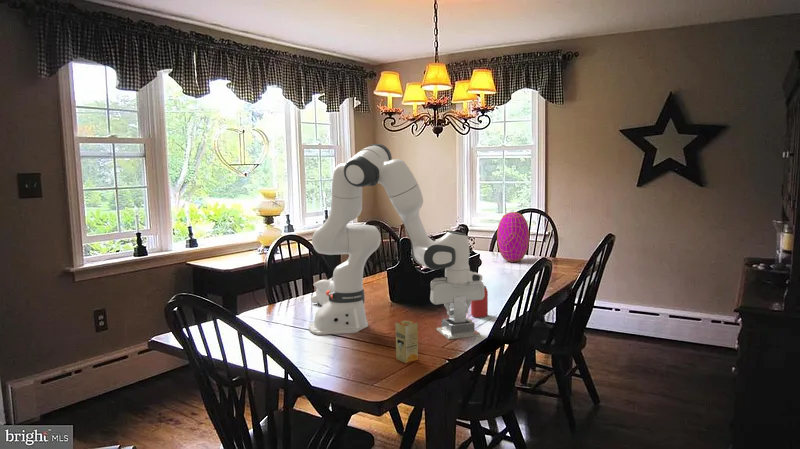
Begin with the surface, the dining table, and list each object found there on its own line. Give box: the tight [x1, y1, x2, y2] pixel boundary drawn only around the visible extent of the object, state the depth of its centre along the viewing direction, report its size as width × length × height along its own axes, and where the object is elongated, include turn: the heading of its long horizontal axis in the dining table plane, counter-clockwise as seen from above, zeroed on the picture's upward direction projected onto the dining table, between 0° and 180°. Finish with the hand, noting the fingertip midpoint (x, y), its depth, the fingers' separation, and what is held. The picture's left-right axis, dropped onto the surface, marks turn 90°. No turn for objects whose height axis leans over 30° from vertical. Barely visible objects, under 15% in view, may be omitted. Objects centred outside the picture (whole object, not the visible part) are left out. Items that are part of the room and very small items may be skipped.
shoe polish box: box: [395, 319, 419, 364], centre depth 179 cm, size 5×5×12 cm
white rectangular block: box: [448, 296, 467, 325], centre depth 205 cm, size 5×5×12 cm
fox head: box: [310, 276, 334, 307], centre depth 248 cm, size 13×17×20 cm
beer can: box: [470, 285, 489, 319], centre depth 226 cm, size 7×7×12 cm
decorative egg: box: [496, 211, 530, 263], centre depth 340 cm, size 19×19×30 cm
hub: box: [436, 317, 481, 340], centre depth 205 cm, size 12×12×4 cm
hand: (457, 313), depth 205 cm, fingers closed on white rectangular block, 5 cm apart
